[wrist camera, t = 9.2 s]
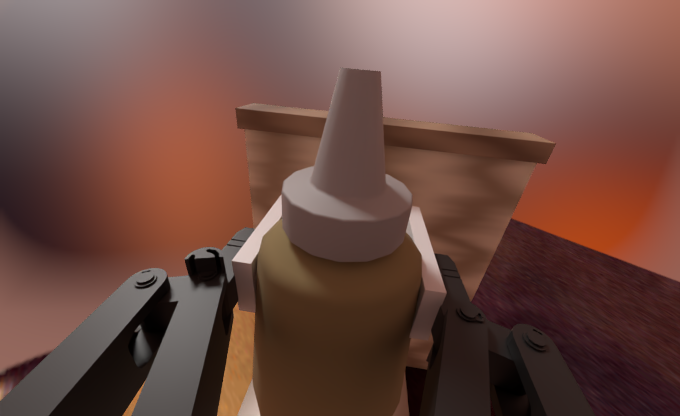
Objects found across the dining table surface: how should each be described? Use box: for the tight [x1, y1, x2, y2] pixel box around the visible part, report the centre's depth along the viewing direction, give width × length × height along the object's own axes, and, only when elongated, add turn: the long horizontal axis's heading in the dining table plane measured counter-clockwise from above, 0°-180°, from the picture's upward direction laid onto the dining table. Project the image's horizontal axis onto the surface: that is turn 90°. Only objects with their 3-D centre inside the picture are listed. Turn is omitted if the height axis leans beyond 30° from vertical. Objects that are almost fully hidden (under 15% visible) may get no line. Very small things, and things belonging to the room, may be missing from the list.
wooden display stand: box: [236, 103, 556, 416], centre depth 17 cm, size 19×13×23 cm
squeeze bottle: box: [253, 68, 422, 416], centre depth 12 cm, size 8×8×18 cm
